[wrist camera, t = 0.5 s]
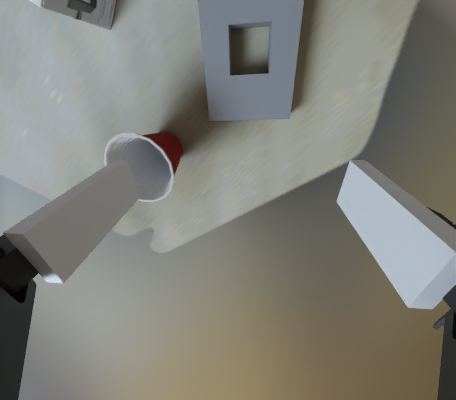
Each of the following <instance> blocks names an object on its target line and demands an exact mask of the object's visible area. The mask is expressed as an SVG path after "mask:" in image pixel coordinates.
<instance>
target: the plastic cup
mask: <svg viewBox="0 0 456 400" xmlns="http://www.w3.org/2000/svg"><path fill="white" fill-rule="evenodd" d="M181 154H182V147H181V143H180V142H179V140H178V138H176V137H175V136H174V135H172V134H170V133H166V132H164V133H156V134H148V135H139V134H137V133H122V134H118V135H117V136H115V137H114V138H112V139H110V140H109V142H108V144H107V146H106V148H105V150H104V164H105V166H107V165H108V164H110V163H112V162H113V161H115V160H127V161H128V164H129V167H130V170H131V173H132V176H133V179H134V182H135V185H136V188H137V191H138V194H139V197H140V198H139V199H138V200H139V201H142V202H156V201H158V200H161V199H163V198H165V197H166V196H167V195H168V193H169V192H170V191H171V190H172V187H173V181H174V175H175V172H176V170H177V167H178V164H179V161H180V158H181Z"/></svg>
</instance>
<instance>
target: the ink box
mask: <svg viewBox="0 0 456 400" xmlns="http://www.w3.org/2000/svg"><path fill="white" fill-rule="evenodd" d="M30 1H31V2H33V3H34V4H36V5H37V6H39V7H40V8H43V9H46V10H50V11H53V12H56V13H59V14H62V15H65V16H69V17H72V18H75V19H78V20H81V21H84V22H87V23H90V24H93V25H96V26H99V27H102V28H105V29H108V30H110V29H111V25H112V20H113V15H114V10H115V4H116V0H30Z"/></svg>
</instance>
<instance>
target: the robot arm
mask: <svg viewBox="0 0 456 400" xmlns="http://www.w3.org/2000/svg"><path fill="white" fill-rule="evenodd" d="M139 198H140V197H139V194H138V191H137V188H136V185H135V182H134V179H133V176H132V173H131V170H130V167H129V164H128V161H127V160H115V161H113V162H112V163H110V164H108V165H107V166H105V167H104V168H102V169H101V170H99V171H98V172H96V173H95V174H93V175H91V176H90V177H88V178H87V179H85V180H84V181H82V182H81V183H79V184H78V185H76V186H74V187H73V188H71V189H70V190H68V191H67V192H65V193H64V194H62V195H61V196H59V197H58V198H56V199H54V200H53V201H51V202H50V203H48V204H47V205H45V206H44V207H42V208H41V209H39V210H37V211H36V212H34V213H33V214H32V215H30V216H28V217H27V218H25V219H24V220H22V221H21V222H19V223H18V224H16V225H14V226H13V227H11V228H10V229H8V230H7V231H5V232H3V234H4V235H2V236H1V237H0V400H18V397H19V390H20V384H21V378H22V372H23V366H24V359H25V352H26V347H27V340H28V334H29V328H30V322H31V316H32V310H33V304H34V298H35V291H36V283H35V282H34V281H33V279H32V278H34V277H35V276H36V275H37V274H38V273H39V274H40V275H41V276H42V277H43V278H44V279H45V280H46V281H47V282H52V283H64V282H65V281H66V280H67V279H68V278H69V277H70V276H71V274H72V273H73V272H74V271H75V270H76V269H77V268H78V266H79V265H80V264H81V263H82V262H83V261H84V260H85V259H86V257H87V256H88V255H89V254H90V253H91V252H92V251H93V250H94V248H95V247H96V246H97V245H98V244H99V243H100V242H101V241H102V239H103V238H104V237H105V236H106V235H107V234H108V233H109V232H110V230H111V229H112V228H113V227H114V226H115V225H116V224H117V222H118V221H119V220H120V219H121V218H122V217H123V216H124V215H125V213H126V212H127V211H128V210H129V209H130V208H131V207H132V206H133V204H134V203H135V202H136V201H137V200H138V199H139ZM337 203H338V204H339V206H340V207H341V209H342V210H343V212H344V213H345V215H346V216H347V218H348V219H349V221H350V222H351V224H352V225H353V227H354V228H355V229H356V231H357V233H358V234H359V236H360V237H361V239H362V240H363V242H364V243H365V244H366V246H367V247H368V249H369V250H370V252H371V253H372V255H373V256H374V258H375V259H376V261H377V262H378V264H379V265H380V267H381V268H382V269H383V271H384V273H385V274H386V276H387V277H388V278H389V280H390V281H391V283H392V284H393V286H394V287H395V289H396V290H397V292H398V293H399V295H400V296H401V298H402V299H403V300H404V302H405V304H406V305H407V306H408V307H409V308H423V309H433V308H434V307H435V306H436V305H437V304H438V303H439V302H440V301H441V300H442V299H444V301H445V302H446V303H447V304H448V305H449V307H451V309H450V310H449V311H448V312H447V313H446V314H445V315H443V316H442V317H441V318H440V319H439V320H438V321H437V322H436V323H435V324H434V326H433V328H435V329H438V328H439V327H441V326H442V325H444V335H443V345H442V357H441V367H440V377H439V389H438V398H437V400H456V225H453V223H452V222H451V221H450V220H448V219H447V218H446V217H444V216H443V215H442V214H440V213H438V212H436V211H434V210H432V209H430V208H428V207H426V206H424V205H423V204H421V203H420V202H419V201H417V200H416V199H415V198H414V197H412V196H411V195H410V194H408V193H407V192H406V191H404V190H403V189H402V188H400V187H399V186H398V185H396V184H395V183H394V182H392V181H391V180H390V179H388V178H387V177H386V176H385V175H383V174H382V173H381V172H379V171H378V170H377V169H375V168H374V167H372V166H371V165H370V164H369V163H367V162H366V161H365V160H364V161H362V160H360V161H359V160H350V162H349V165H348V169H347V172H346V175H345V178H344V181H343V184H342V187H341V190H340V193H339V196H338V199H337Z"/></svg>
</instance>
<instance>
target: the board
mask: <svg viewBox="0 0 456 400" xmlns="http://www.w3.org/2000/svg"><path fill="white" fill-rule="evenodd" d="M198 5H199V16H200V27H201V38H202V49H203V59H204V70H205V81H206V92H207V103H208V114H209V121H236V120H269V119H290V115H291V106H292V98H293V90H294V81H295V73H296V64H297V56H298V47H299V39H300V31H301V22H302V14H303V5H304V0H198ZM264 26H270V33H269V52H268V71H267V74H249V75H232V72H231V39H230V29H239V28H252V27H264Z"/></svg>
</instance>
